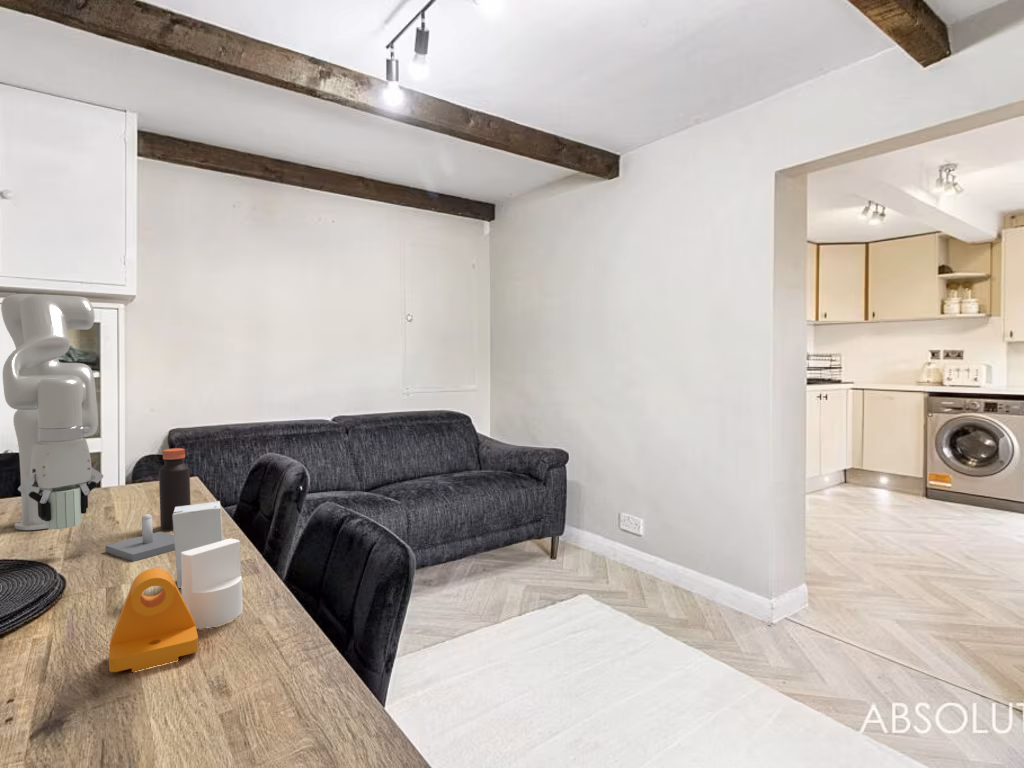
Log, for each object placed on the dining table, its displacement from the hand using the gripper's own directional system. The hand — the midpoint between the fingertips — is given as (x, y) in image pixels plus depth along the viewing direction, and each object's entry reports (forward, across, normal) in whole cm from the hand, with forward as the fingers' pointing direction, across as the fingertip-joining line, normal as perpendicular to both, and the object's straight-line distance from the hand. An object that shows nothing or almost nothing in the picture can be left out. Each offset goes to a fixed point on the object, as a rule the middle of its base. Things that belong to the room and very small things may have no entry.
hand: (63, 515), depth 127 cm
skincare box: (+8, -7, +40) cm, 41 cm away
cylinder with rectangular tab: (+8, +1, +57) cm, 58 cm away
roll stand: (+9, -12, +11) cm, 18 cm away
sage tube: (+2, 0, 0) cm, 2 cm away
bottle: (+9, -25, -1) cm, 26 cm away
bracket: (+7, +13, +62) cm, 64 cm away
